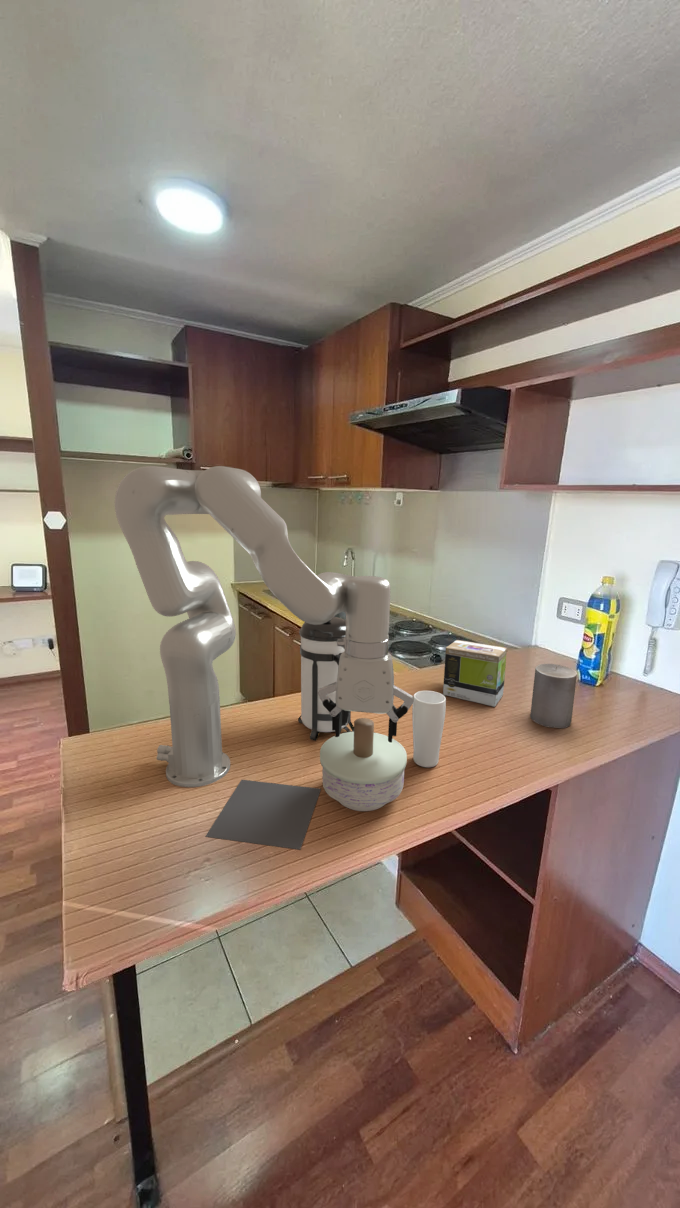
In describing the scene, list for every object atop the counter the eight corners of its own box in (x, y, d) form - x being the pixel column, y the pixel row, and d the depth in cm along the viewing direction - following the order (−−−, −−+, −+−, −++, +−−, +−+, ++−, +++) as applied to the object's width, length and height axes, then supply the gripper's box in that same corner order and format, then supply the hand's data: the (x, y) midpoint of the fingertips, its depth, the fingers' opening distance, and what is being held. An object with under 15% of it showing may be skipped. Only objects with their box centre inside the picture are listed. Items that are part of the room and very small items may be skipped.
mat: (205, 838, 75) (205, 836, 75) (241, 781, 91) (241, 779, 91) (300, 851, 73) (300, 849, 73) (321, 790, 88) (321, 788, 88)
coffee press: (280, 735, 109) (278, 612, 102) (315, 709, 123) (315, 599, 116) (345, 754, 101) (348, 622, 94) (374, 724, 115) (378, 607, 108)
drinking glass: (419, 750, 103) (423, 687, 100) (447, 760, 99) (452, 696, 96) (403, 762, 98) (407, 697, 95) (432, 774, 94) (436, 706, 90)
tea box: (503, 695, 133) (508, 647, 130) (494, 708, 125) (499, 656, 122) (453, 684, 141) (456, 638, 138) (441, 695, 133) (445, 646, 129)
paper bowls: (339, 832, 77) (340, 790, 75) (311, 781, 91) (311, 745, 89) (418, 811, 83) (420, 772, 81) (380, 766, 96) (382, 732, 95)
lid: (311, 778, 79) (311, 740, 77) (328, 733, 94) (328, 700, 92) (405, 789, 76) (407, 749, 75) (407, 740, 92) (409, 707, 90)
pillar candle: (544, 708, 125) (550, 656, 122) (579, 722, 117) (586, 667, 114) (522, 717, 120) (527, 663, 117) (556, 732, 112) (563, 675, 109)
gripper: (313, 650, 78) (313, 741, 82) (416, 657, 75) (411, 751, 79) (322, 637, 85) (322, 722, 89) (416, 643, 83) (412, 730, 86)
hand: (364, 736), depth 84 cm, fingers open, 9 cm apart
